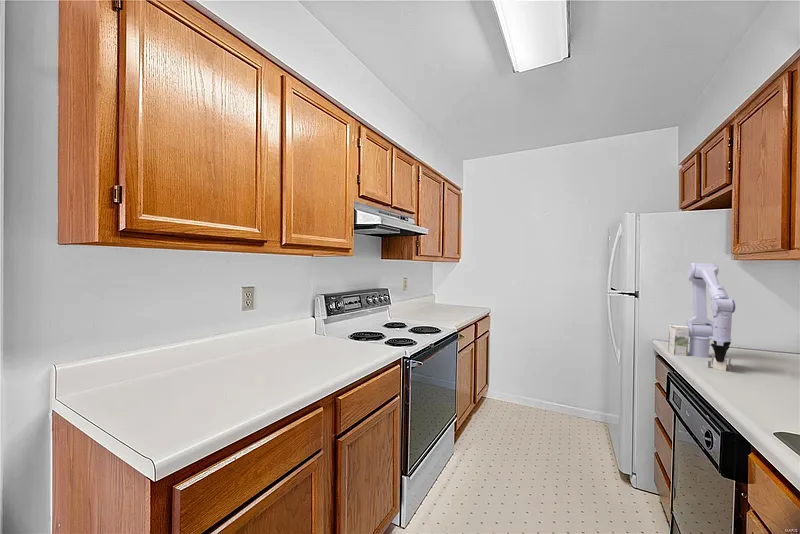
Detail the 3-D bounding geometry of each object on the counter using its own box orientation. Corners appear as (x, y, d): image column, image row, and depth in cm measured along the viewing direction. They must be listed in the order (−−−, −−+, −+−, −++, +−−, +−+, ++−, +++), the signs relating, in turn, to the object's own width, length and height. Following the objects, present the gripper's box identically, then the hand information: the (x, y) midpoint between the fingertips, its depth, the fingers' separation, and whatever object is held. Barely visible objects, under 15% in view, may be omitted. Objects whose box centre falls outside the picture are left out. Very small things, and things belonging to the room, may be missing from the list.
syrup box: (681, 354, 177) (682, 324, 176) (687, 357, 171) (689, 326, 170) (667, 353, 178) (669, 323, 177) (673, 356, 172) (675, 326, 172)
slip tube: (714, 364, 158) (715, 349, 157) (727, 366, 155) (727, 351, 155) (712, 368, 152) (713, 353, 152) (725, 370, 149) (726, 355, 149)
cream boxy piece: (712, 363, 161) (712, 353, 160) (730, 366, 156) (731, 356, 156) (711, 364, 158) (711, 354, 158) (730, 367, 154) (730, 357, 154)
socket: (708, 367, 154) (708, 360, 154) (731, 371, 149) (731, 364, 149) (707, 367, 153) (708, 361, 153) (731, 372, 148) (731, 365, 148)
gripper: (710, 324, 160) (709, 354, 161) (707, 328, 150) (706, 361, 150) (732, 326, 155) (731, 358, 156) (730, 331, 145) (729, 365, 146)
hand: (720, 360), depth 153 cm, fingers open, 7 cm apart
